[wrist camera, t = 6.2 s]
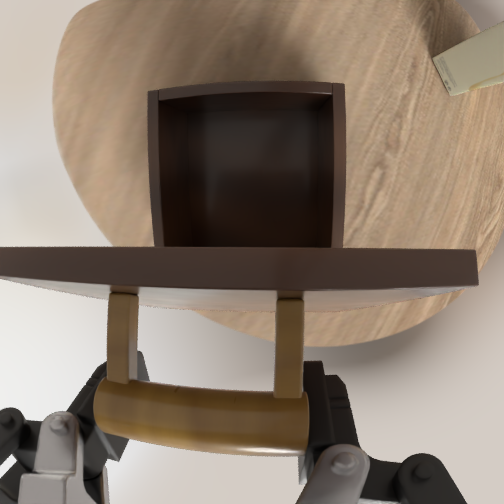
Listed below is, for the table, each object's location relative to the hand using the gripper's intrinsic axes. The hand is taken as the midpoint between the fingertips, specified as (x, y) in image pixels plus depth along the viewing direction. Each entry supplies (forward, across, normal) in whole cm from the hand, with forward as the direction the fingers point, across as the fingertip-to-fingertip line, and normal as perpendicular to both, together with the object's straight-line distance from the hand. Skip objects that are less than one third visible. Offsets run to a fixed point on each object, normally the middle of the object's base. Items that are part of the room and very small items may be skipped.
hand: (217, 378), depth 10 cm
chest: (+19, 0, -4) cm, 19 cm away
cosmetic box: (+19, -21, -18) cm, 33 cm away
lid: (+4, 0, -2) cm, 4 cm away
